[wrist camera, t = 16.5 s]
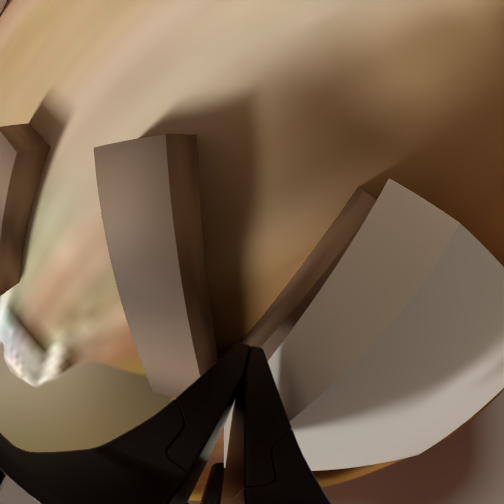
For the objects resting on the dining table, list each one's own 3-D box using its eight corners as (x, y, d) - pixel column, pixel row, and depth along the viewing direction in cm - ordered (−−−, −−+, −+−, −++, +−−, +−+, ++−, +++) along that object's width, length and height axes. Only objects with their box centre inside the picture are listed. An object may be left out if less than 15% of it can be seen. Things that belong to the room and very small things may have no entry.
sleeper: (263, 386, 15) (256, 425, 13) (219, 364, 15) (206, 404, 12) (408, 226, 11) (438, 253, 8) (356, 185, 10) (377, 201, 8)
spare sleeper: (21, 280, 16) (-2, 297, 14) (2, 257, 16) (-20, 271, 13) (54, 145, 11) (17, 152, 9) (32, 123, 11) (-3, 127, 9)
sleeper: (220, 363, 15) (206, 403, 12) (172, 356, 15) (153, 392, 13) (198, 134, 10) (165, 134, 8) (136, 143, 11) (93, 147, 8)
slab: (407, 422, 15) (419, 454, 12) (224, 412, 12) (223, 467, 9) (525, 299, 10) (551, 330, 7) (388, 178, 7) (460, 223, 4)
